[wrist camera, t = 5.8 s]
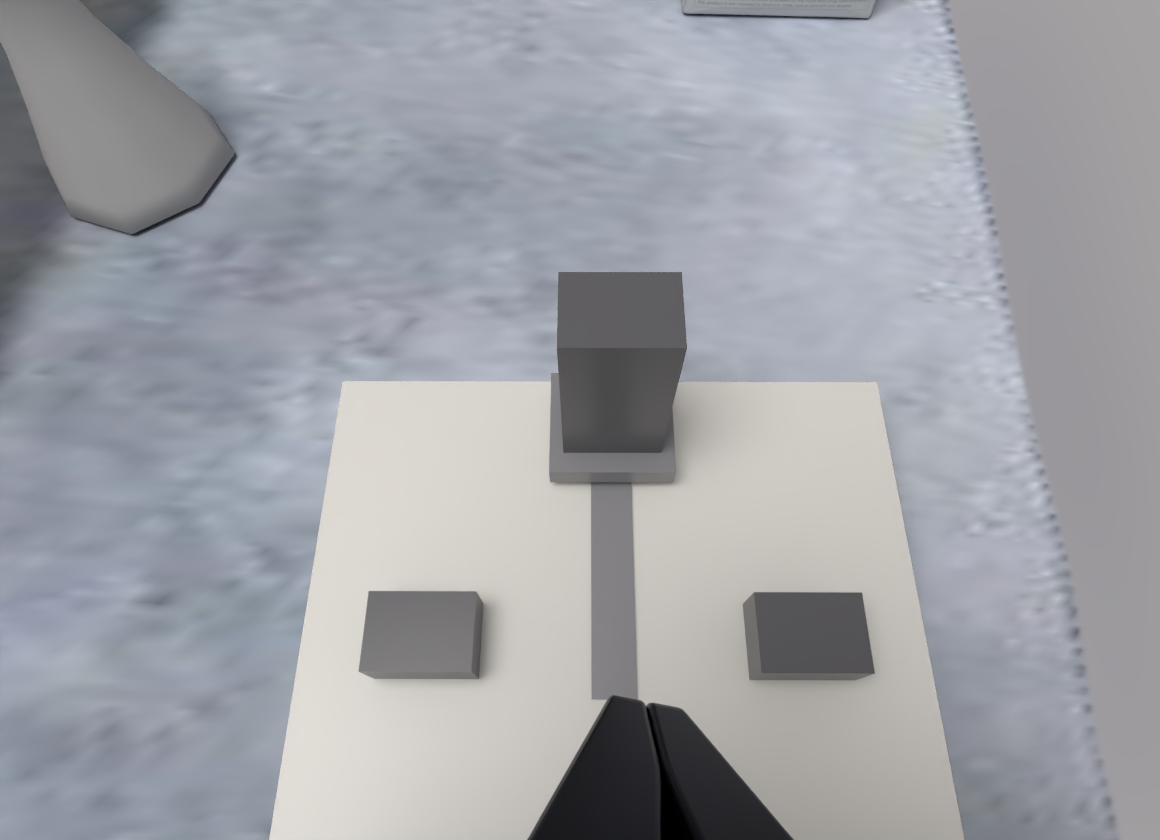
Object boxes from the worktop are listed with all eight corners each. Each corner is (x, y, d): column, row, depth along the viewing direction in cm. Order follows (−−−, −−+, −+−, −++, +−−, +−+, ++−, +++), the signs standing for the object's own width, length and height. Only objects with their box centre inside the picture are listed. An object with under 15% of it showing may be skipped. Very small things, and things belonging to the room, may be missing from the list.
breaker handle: (672, 482, 22) (707, 372, 16) (550, 482, 22) (537, 372, 16) (668, 385, 23) (697, 251, 17) (552, 385, 23) (541, 250, 17)
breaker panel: (946, 1023, 19) (1046, 1091, 15) (283, 1019, 19) (202, 1086, 15) (846, 422, 26) (895, 358, 22) (367, 421, 26) (328, 357, 22)
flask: (158, 83, 34) (4, -168, 25) (267, 155, 32) (143, -88, 23) (22, 180, 31) (-205, -60, 22) (131, 264, 29) (-68, 40, 20)
